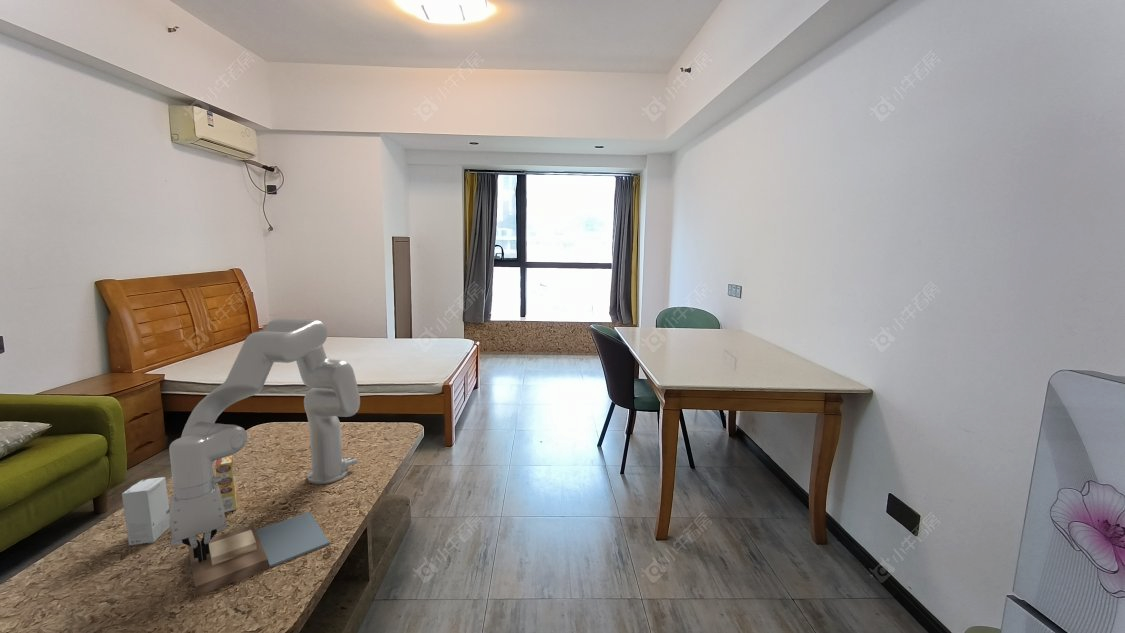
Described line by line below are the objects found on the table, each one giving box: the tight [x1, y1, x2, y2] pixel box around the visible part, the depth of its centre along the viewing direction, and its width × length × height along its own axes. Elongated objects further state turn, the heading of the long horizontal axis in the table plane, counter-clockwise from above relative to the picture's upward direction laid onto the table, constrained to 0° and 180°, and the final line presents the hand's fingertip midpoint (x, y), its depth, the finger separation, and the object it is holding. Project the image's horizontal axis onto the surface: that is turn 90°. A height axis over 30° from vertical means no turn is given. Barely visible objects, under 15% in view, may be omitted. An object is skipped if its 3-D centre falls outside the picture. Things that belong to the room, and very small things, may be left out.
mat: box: [255, 511, 331, 568], centre depth 124 cm, size 14×19×1 cm
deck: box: [187, 524, 270, 597], centre depth 115 cm, size 14×19×2 cm
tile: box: [209, 530, 257, 565], centre depth 115 cm, size 9×7×2 cm
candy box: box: [214, 454, 239, 513], centre depth 139 cm, size 9×4×15 cm, turn 33°
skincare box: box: [121, 476, 170, 546], centre depth 124 cm, size 8×6×15 cm
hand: (202, 558), depth 111 cm, fingers closed
